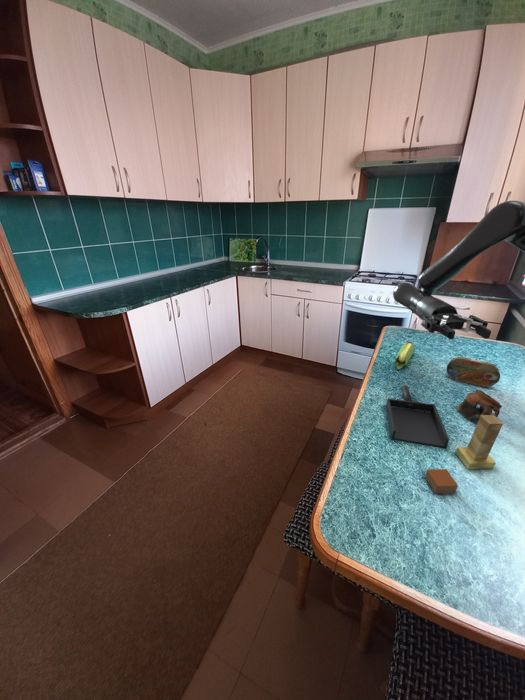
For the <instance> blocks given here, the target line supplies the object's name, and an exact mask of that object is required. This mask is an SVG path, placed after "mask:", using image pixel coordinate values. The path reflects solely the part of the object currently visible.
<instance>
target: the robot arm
mask: <svg viewBox="0 0 525 700" xmlns="http://www.w3.org/2000/svg"><path fill="white" fill-rule="evenodd" d="M503 241H504V242H506V243H509V244H510V245H512V246H513V247H515V248H517V249H518V250H519V251H521V252H522V253H524V254H525V201H521V200H506V201H503V202H501V203H498V204H497V205H495V206H494V207H493V208H491V209H490V210H489V211H488V212H487V214H485V215H484V216H483V217H482V218H481V220H480V221H478V223H477V224H476V225H475V226H474V227H473V228H472V229H471V230H470V231H469V232H468V233H467V234H466V235H465V236H464V237H463V238H462V239H461V240H460V241H458V243H456V244H455V245H454V246H453V247H452V248H451V249H449V251H447V252H446V253H445V254H443V256H441V257H440V258H439V259H437V260H436V261H435V262H433V263H432V264H431V265H430V266H429V267H427V268H426V269H425V270H423V272H421V273H420V274H419V275H418V277H417V281H418V283H419V285H420V286H421V288H419V287H417V286H415V285H414V284H412V283H410V282H401V283H399V284H398V285H396V286H395V288H394V289H393V291H392V297H393V298H392V299H393V300H394V301H395V302H396V303H398V304H400V305H401V306H403V307H404V308H407V309H408V310H409V311H411V312H412V314H414V315H416V316H417V317H418V318H419V319H420V320H421V323H420V326H422V327H423V328H424V329H425V330H426V331H427V332H429V333H430V334H434V333H437V334H439V335H443V336H444V337H446V338H447V339H449V340H454V339H455V335H456V330H457V331H461V332H464V333H469V332H471V333H475V334H476V335H478V336H480V337H481V338H483V339H485V340H486V339H490V337H491V334H492V330H491V329H489V328H487V327H488V325H489V322H487V321H485V320H484V319H482V318H479V317H477V316H476V315H473V314H471V315H470V314H469V316H468V317H467V316H462V315H461V314H459V313H458V310H457V308H456V307H455V306H453V305H452V304H450V303H448V302H446V301H444V300H443V299H441V298H438V297H435V296H433V294H434V293H435V292H436V291H437V290H438V289H439V288H442V287H443V286H444V285H445V284H446V283H448V282H449V281H451V280H452V279H453V278H455V277H456V276H457V275H458V274H459V273H461V272H462V271H463V270H464V268H466V267H467V266H468V264H470V263H471V262H472V261H473V260H474V259H476V258H477V257H478V256H479V255H481V254H482V253H484V252H485V251H487V250H489V249H490V248H492V247H494V246H495V245H497V244H500V243H501V242H503ZM465 324H466V326H465ZM464 326H465V327H464Z"/></svg>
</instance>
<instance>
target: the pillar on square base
mask: <svg viewBox="0 0 525 700" xmlns="http://www.w3.org/2000/svg"><path fill="white" fill-rule="evenodd" d="M503 425H504V423H503V422H502V421H501V420H500V419H499V418H498V417H497V418H496V417H495V416H494V414H492V415H481V416H480V418H479V420H478V421H477V423H476V425H475V428H474V430H473V432H472V435H471V437H470V439H469V443H468V445H467V446H457V447H456V449H455V452H454V453H455V455H456V456H457V457H458V459H459V460H460V462H462V464H463V465H464V466H465V467H466V469H467V470H493V469H494V468H495V465H496V463H497V462H496V461H495V460H494V459H493V458H492V457H491V456H490V453H491V451H492V449H493V446H494V444H495V443H496V440H497V438H498V436H499V434H500V431H501V429H502V427H503Z"/></svg>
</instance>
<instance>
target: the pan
mask: <svg viewBox="0 0 525 700" xmlns="http://www.w3.org/2000/svg"><path fill="white" fill-rule="evenodd" d="M400 389H401V391H402V395H403V398H404V400H403V399H396V398H389V397H388V398H386V402H385V403H386V404H385V411H386V416H387V421H388V422H387V423H388V429H389V432H390V439H391V440H392V441H399V442H405V443H410V444H411V443H412V444H417V445H424V446H430V447H436V448H441V449H447V447H448V445H449V442H450V437H449V435H448V433H447V430H446V427H445V425H444V423H443V420H442V418H441V415H440V413H439V411H438V409H437V406H436V404H434V403H426V402H419V401H413V398H412V396H411V392H410V388H409V386H408V385H407V384H403V385H402V386H401V388H400Z"/></svg>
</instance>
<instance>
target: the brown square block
mask: <svg viewBox="0 0 525 700" xmlns="http://www.w3.org/2000/svg"><path fill="white" fill-rule="evenodd" d="M424 477H425V479H426V482H428V484H429V486H430V487H431V489H432V491H433V492H434V494H456V493H457V490H458V487H459V485H458V483H457V482H456V480H455V479H454V477H453V476H452V475H451V473H450V472H449V471H448V469H447V468H439V469H438V468H435V469H434V468H432V469H431V468H430V469H427V470H426V472H425V476H424Z"/></svg>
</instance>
